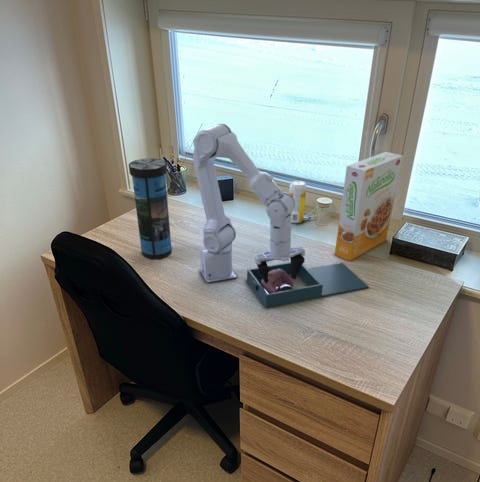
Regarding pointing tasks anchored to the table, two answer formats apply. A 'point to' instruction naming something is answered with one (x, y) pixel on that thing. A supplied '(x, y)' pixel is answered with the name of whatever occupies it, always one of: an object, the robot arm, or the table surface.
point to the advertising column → (152, 207)
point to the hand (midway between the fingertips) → (279, 281)
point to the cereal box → (367, 204)
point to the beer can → (298, 200)
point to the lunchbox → (317, 279)
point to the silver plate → (282, 288)
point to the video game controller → (276, 280)
